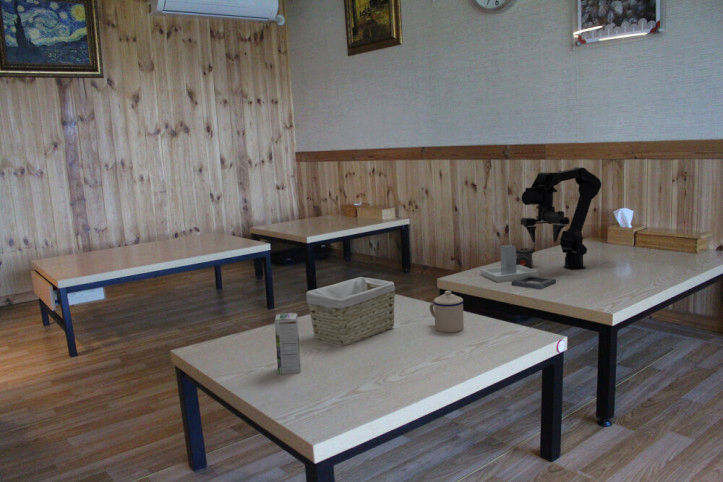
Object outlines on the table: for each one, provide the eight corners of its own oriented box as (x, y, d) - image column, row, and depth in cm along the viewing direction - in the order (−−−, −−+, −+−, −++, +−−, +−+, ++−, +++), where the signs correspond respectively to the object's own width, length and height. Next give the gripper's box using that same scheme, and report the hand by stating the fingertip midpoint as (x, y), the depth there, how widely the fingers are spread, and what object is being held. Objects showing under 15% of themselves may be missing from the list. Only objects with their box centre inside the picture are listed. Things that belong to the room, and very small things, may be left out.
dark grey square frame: (527, 279, 239) (527, 275, 239) (556, 282, 231) (556, 278, 231) (511, 285, 231) (511, 281, 231) (540, 289, 223) (540, 285, 222)
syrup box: (279, 367, 160) (274, 314, 157) (301, 365, 160) (297, 312, 158) (278, 375, 154) (273, 320, 152) (301, 373, 154) (296, 318, 152)
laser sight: (537, 260, 274) (536, 238, 273) (534, 271, 253) (534, 247, 252) (515, 260, 277) (514, 238, 276) (511, 271, 256) (510, 247, 255)
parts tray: (519, 270, 255) (519, 264, 255) (538, 277, 241) (538, 271, 240) (480, 275, 251) (480, 269, 250) (497, 282, 236) (497, 276, 236)
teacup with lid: (470, 327, 183) (469, 290, 181) (451, 335, 177) (449, 296, 175) (440, 320, 192) (439, 284, 190) (421, 327, 186) (419, 290, 184)
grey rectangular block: (511, 273, 248) (510, 244, 246) (516, 275, 244) (515, 246, 242) (501, 274, 247) (500, 245, 245) (506, 276, 243) (505, 247, 241)
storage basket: (342, 349, 171) (339, 298, 168) (306, 338, 182) (303, 291, 180) (399, 328, 187) (397, 281, 185) (363, 319, 199) (360, 275, 196)
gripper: (533, 206, 233) (532, 246, 235) (577, 204, 236) (576, 244, 238) (520, 203, 244) (519, 242, 246) (562, 202, 247) (561, 240, 249)
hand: (544, 242), depth 244 cm, fingers open, 9 cm apart
